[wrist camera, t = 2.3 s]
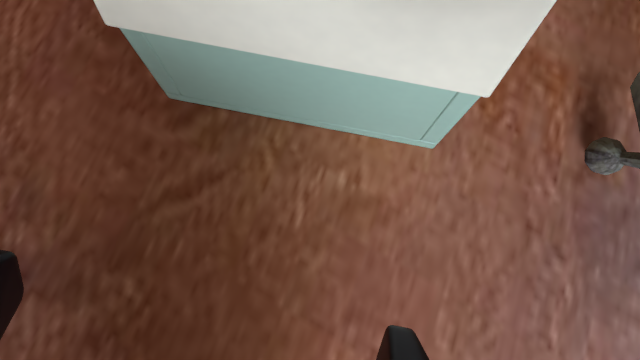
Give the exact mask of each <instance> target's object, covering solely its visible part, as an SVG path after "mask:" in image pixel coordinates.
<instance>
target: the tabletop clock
mask: <svg viewBox="0 0 640 360" xmlns="http://www.w3.org/2000/svg"><path fill="white" fill-rule="evenodd" d="M630 89H631V93H632V98H633V103H634V107H635V112H636V117H637V121H638V126H639V131H640V72H639V73H638V74H637V76H636V78H635V80H634V81H633V83H632V85H631V87H630ZM585 163H586V164H587V165H588V167H589V168H590V170H591V171H593V172H596V173H600V174H603V175H609V174H611V173H614V172H617V171H619V170H620V169H621V168H622V167H623V165H627V166H631V167H635V168H639V169H640V153H637V152H626V150H625V148H624V147H623V145H622V144H621V142H620V141H618V140H615V139H611V138H607V137H603V138H600V139H598V140H595V141H593V142H591V143H590V145H589V146H588V147H587V149H586V150H585Z"/></svg>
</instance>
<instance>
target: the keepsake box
mask: <svg viewBox="0 0 640 360" xmlns="http://www.w3.org/2000/svg"><path fill="white" fill-rule="evenodd" d="M119 29H120V30H121V31H122V33H123V34H124V36H125V37H126V38H127V40H128V41H129V43H130V44H131V45H132V47H133V48H134V50H135V51H136V53H137V54H138V55H139V57H140V58H141V60H142V61H143V62H144V64H145V65H146V67H147V68H148V69H149V71H150V72H151V74H152V75H153V76H154V78H155V79H156V81H157V82H158V83H159V85H160V86H161V88H162V89H163V91H165V93H166V95H167V96H168V97H169V98H171V99H176V100H181V101H186V102H192V103H197V104H202V105H207V106H213V107H218V108H223V109H228V110H233V111H239V112H244V113H249V114H254V115H260V116H265V117H270V118H275V119H281V120H286V121H291V122H296V123H301V124H307V125H312V126H317V127H322V128H328V129H333V130H338V131H343V132H349V133H354V134H359V135H364V136H370V137H375V138H380V139H385V140H390V141H396V142H401V143H406V144H411V145H417V146H422V147H427V148H434V147H435V146H436V145H437V144H438V143H439V142H440V141H441V139H442V138H443V137H444V136H445V135H446V134H447V133H448V132H449V131H450V130H451V128H452V127H453V126H454V125H455V124H456V123H457V122H458V121H459V120H460V119H461V118H462V116H463V115H464V114H465V113H466V112H467V111H468V110H469V109H470V108H471V107H472V105H473V104H474V103H475V102H476V101H477V100H478V99H479V98H480V97H481V96H476V95H471V94H466V93H460V92H455V91H450V90H445V89H439V88H434V87H429V86H424V85H418V84H413V83H408V82H403V81H397V80H392V79H387V78H381V77H376V76H371V75H366V74H360V73H355V72H350V71H345V70H339V69H334V68H329V67H323V66H318V65H313V64H308V63H302V62H297V61H292V60H287V59H281V58H276V57H271V56H266V55H260V54H255V53H250V52H244V51H239V50H234V49H229V48H223V47H218V46H213V45H208V44H202V43H197V42H192V41H187V40H181V39H176V38H171V37H165V36H160V35H155V34H150V33H144V32H139V31H134V30H129V29H123V28H119Z"/></svg>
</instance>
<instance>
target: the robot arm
mask: <svg viewBox="0 0 640 360" xmlns="http://www.w3.org/2000/svg"><path fill="white" fill-rule="evenodd" d="M23 292H24V287H23V282H22V277H21V273H20V268H19V264H18V259H17V257H16V255H15V254H14V253H12V252H10V251H5V250H0V339H1V338H2V336H3V334H4V332H5V330H6V328H7V326H8V325H9V323H10V321H11V319H12V317H13V315H14V313H15V312H16V310H17V308H18V306H19V304H20V302H21V300H22V297H23ZM376 360H429V358H428V356H427V355H426V353H425V351H424V349H423V347H422V345H421V343H420V341H419V340H418V338H417V336H416V334H415V332H414V331H413V330H412V329H409V328H405V327H399V326H394V325H390V326H388V327H387V329H386V331H385V334H384V337H383V340H382V343H381V346H380V349H379V352H378V355H377V359H376Z"/></svg>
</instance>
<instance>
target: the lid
mask: <svg viewBox="0 0 640 360" xmlns="http://www.w3.org/2000/svg"><path fill="white" fill-rule="evenodd" d="M93 1H94V3H95V5H96V7H97V9H98V11H99V13H100V15H101V17H102V19H103V21H104V23H105V24H106V25H108V26H113V27H118V28H123V29H129V30H134V31H139V32H144V33H150V34H155V35H160V36H165V37H171V38H176V39H181V40H187V41H192V42H197V43H202V44H208V45H213V46H218V47H223V48H229V49H234V50H239V51H244V52H250V53H255V54H260V55H266V56H271V57H276V58H281V59H287V60H292V61H297V62H302V63H308V64H313V65H318V66H323V67H329V68H334V69H339V70H345V71H350V72H355V73H360V74H366V75H371V76H376V77H381V78H387V79H392V80H397V81H403V82H408V83H413V84H418V85H424V86H429V87H434V88H439V89H445V90H450V91H455V92H460V93H466V94H471V95H476V96H482V97H490V95H491V94H492V92H493V91H494V89H495V88H496V86H497V85H498V84H499V82H500V81H501V79H502V78H503V76H504V75H505V74H506V72H507V71H508V69H509V68H510V66H511V65H512V64H513V62H514V61H515V59H516V58H517V56H518V55H519V54H520V52H521V51H522V49H523V48H524V46H525V45H526V44H527V42H528V41H529V39H530V38H531V36H532V35H533V34H534V32H535V31H536V29H537V28H538V26H539V25H540V24H541V22H542V21H543V19H544V18H545V16H546V15H547V14H548V12H549V11H550V9H551V8H552V6H553V5H554V4H555V2H556V1H557V0H93Z"/></svg>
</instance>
